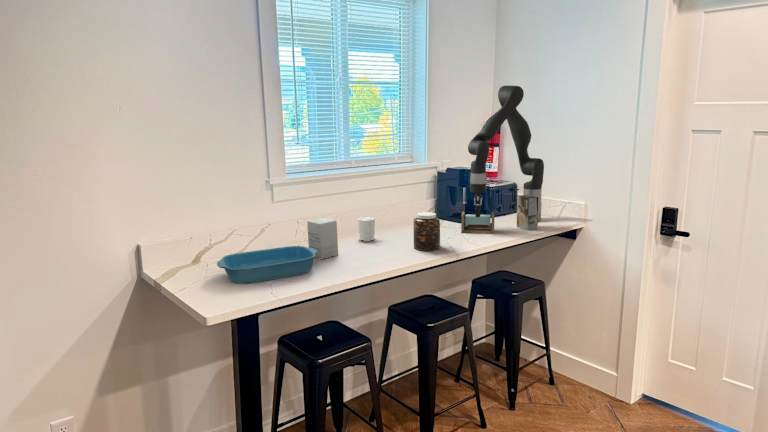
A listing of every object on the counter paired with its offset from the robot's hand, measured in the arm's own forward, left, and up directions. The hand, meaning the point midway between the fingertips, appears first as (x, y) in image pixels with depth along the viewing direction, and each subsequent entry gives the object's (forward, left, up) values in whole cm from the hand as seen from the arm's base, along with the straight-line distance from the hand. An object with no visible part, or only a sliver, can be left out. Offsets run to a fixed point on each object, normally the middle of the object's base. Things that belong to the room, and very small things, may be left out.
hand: (478, 215), depth 254 cm
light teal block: (0, 0, -4) cm, 4 cm away
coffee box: (-22, +14, -8) cm, 27 cm away
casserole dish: (+107, -17, -9) cm, 109 cm away
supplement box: (+78, -22, -8) cm, 82 cm away
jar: (+40, +2, -8) cm, 41 cm away
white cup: (+47, -29, -8) cm, 56 cm away
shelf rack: (0, 0, -8) cm, 8 cm away
